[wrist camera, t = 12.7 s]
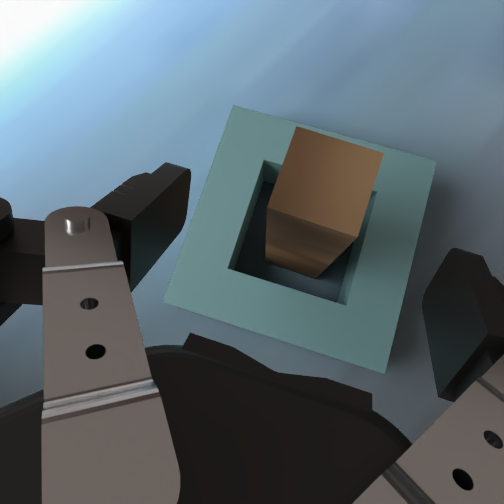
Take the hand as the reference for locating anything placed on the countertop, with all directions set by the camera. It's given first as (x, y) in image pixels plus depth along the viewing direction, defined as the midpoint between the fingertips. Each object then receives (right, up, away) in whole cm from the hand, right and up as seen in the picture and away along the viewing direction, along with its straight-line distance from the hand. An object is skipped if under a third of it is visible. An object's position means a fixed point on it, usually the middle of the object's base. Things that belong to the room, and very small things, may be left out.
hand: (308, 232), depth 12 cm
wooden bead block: (+1, 0, +11) cm, 11 cm away
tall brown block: (+1, 0, +10) cm, 11 cm away
